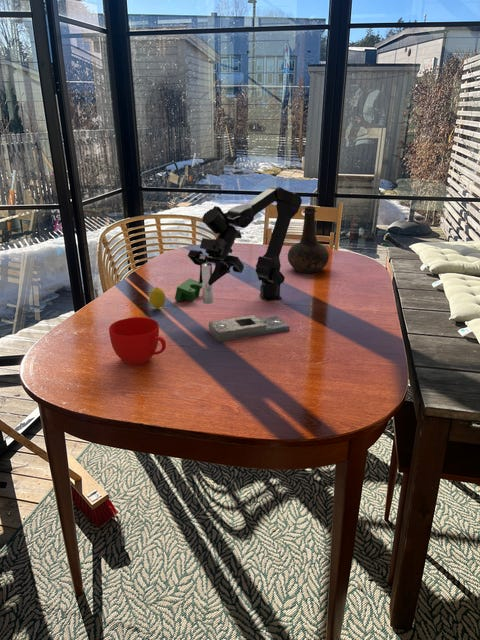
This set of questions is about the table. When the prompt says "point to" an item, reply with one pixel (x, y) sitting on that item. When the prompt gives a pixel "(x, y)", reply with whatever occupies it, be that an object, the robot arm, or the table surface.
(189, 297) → the clamp
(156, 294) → the lemon
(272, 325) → the plate
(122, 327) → the ceramic cup
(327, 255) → the glass bottle
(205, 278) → the steel pin
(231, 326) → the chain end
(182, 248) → the table surface
